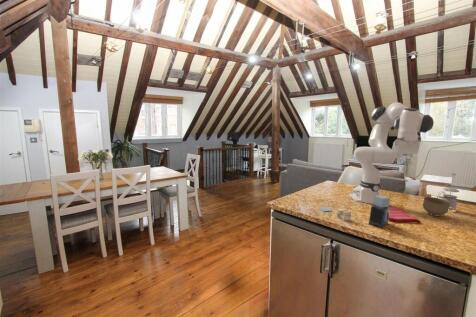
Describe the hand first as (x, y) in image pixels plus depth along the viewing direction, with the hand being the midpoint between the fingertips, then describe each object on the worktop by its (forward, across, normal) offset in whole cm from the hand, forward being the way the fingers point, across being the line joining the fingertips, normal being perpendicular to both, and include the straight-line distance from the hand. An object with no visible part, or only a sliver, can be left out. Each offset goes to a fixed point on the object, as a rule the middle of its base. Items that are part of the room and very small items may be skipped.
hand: (403, 162), depth 134 cm
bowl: (+34, +30, -6) cm, 46 cm away
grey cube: (+23, -17, 0) cm, 29 cm away
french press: (+34, +50, -4) cm, 61 cm away
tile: (+34, -29, +27) cm, 52 cm away
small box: (+34, -17, 0) cm, 38 cm away
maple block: (+34, -30, +12) cm, 47 cm away
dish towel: (+35, +6, +4) cm, 35 cm away
